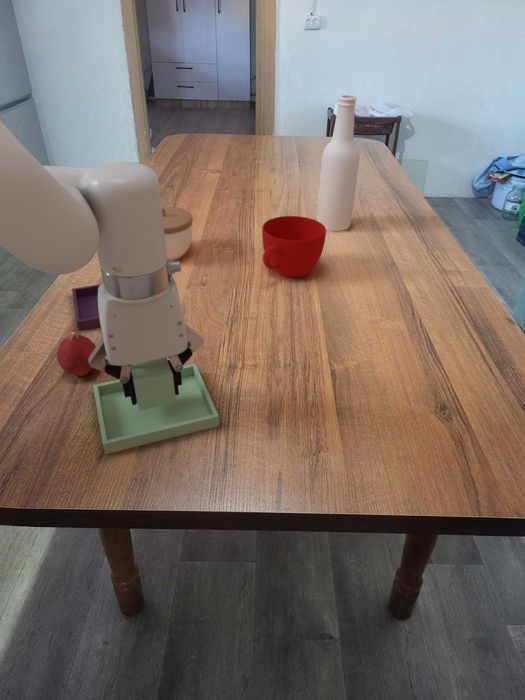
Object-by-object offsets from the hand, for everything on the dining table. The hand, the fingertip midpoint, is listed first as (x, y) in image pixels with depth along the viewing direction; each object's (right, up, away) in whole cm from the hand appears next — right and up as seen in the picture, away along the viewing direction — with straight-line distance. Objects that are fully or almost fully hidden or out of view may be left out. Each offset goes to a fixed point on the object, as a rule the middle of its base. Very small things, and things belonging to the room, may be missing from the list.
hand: (153, 392), depth 68 cm
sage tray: (0, -3, +2) cm, 4 cm away
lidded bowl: (-7, +27, +42) cm, 51 cm away
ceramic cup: (+20, +21, +36) cm, 47 cm away
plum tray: (-12, +14, +24) cm, 30 cm away
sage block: (0, 0, 0) cm, 0 cm away
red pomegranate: (-13, +2, +8) cm, 16 cm away
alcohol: (+33, +38, +59) cm, 77 cm away
